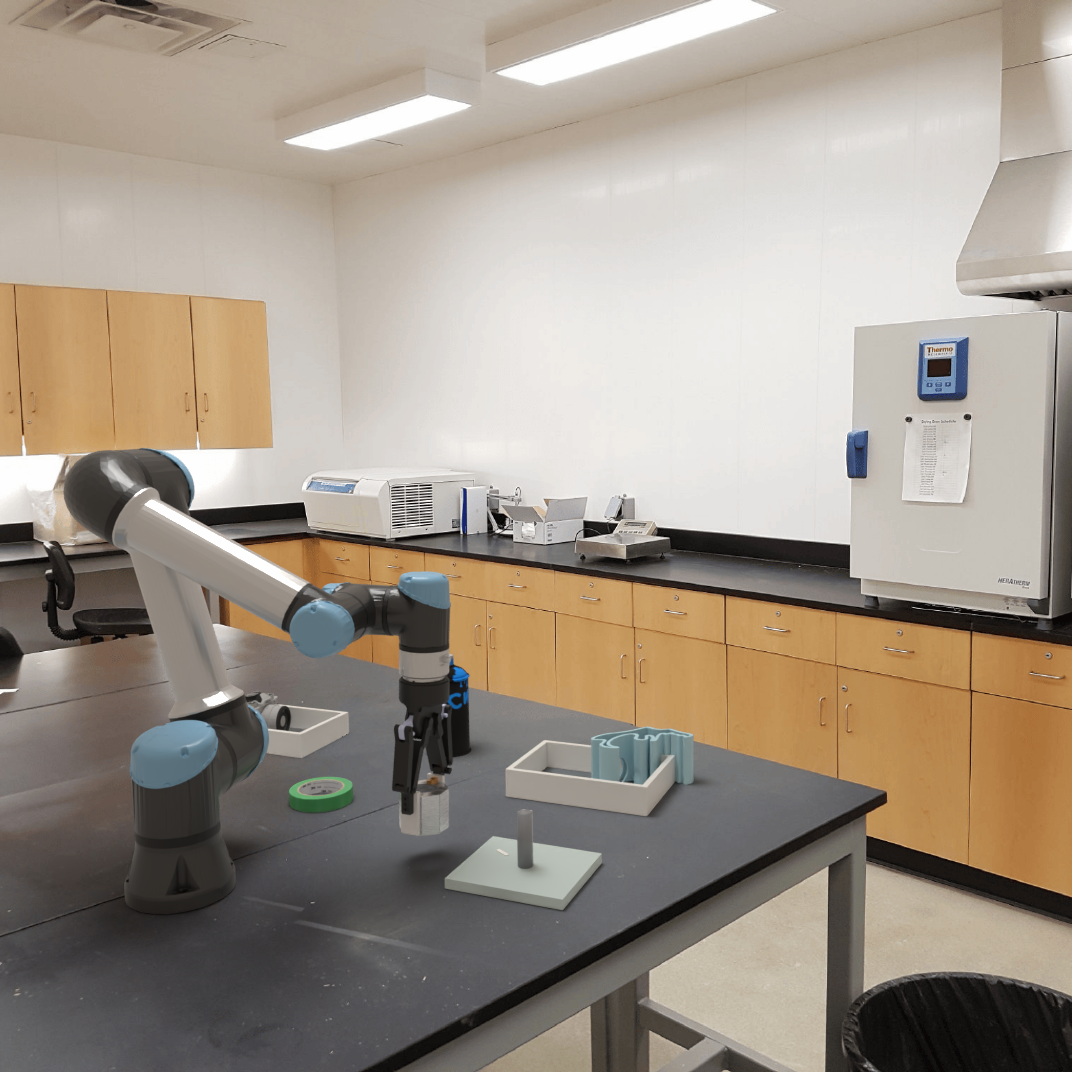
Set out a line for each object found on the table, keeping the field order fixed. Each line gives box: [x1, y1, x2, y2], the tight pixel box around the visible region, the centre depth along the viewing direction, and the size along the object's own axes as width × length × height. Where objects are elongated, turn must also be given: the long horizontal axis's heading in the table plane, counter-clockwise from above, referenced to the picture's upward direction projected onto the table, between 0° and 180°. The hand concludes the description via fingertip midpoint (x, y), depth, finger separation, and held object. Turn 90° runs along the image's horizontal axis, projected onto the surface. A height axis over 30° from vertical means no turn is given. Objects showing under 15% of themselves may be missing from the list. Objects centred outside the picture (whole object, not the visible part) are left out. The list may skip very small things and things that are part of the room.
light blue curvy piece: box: [590, 726, 695, 786], centre depth 183 cm, size 18×10×9 cm, turn 120°
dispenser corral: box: [505, 739, 676, 817], centre depth 181 cm, size 18×26×5 cm
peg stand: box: [444, 808, 603, 911], centre depth 146 cm, size 16×18×10 cm
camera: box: [245, 690, 291, 731], centre depth 214 cm, size 16×9×10 cm, turn 167°
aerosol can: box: [445, 653, 472, 758], centre depth 203 cm, size 8×8×20 cm
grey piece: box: [398, 777, 450, 837], centre depth 152 cm, size 7×7×7 cm
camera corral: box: [266, 703, 350, 759], centre depth 213 cm, size 17×24×5 cm
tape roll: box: [288, 776, 354, 814], centre depth 178 cm, size 11×11×3 cm
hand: (423, 823), depth 152 cm, fingers closed on grey piece, 7 cm apart
